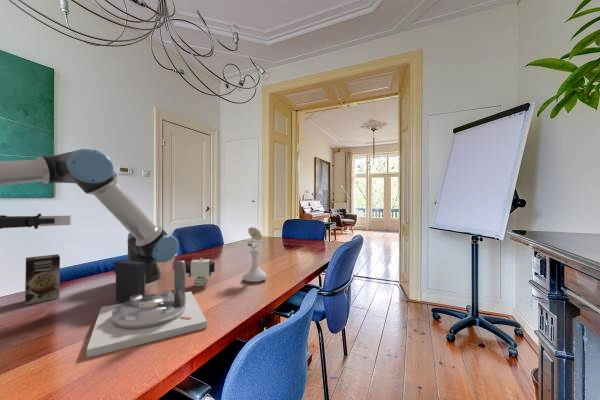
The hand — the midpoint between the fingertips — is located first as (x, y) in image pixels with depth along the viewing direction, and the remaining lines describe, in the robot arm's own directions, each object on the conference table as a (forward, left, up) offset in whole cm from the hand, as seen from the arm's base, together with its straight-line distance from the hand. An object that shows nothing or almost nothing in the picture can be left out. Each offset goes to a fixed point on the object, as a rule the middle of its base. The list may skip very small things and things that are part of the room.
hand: (70, 220), depth 75 cm
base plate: (+6, +20, -32) cm, 38 cm away
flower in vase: (-15, +63, -32) cm, 73 cm away
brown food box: (-33, -14, -32) cm, 48 cm away
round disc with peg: (+6, +20, -30) cm, 37 cm away
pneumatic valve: (-20, +40, -32) cm, 55 cm away
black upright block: (-14, +14, -32) cm, 38 cm away
